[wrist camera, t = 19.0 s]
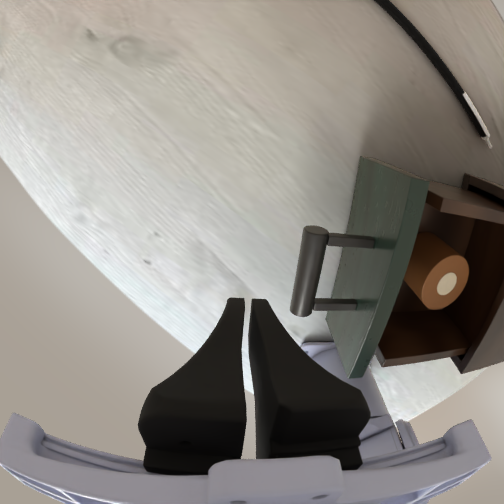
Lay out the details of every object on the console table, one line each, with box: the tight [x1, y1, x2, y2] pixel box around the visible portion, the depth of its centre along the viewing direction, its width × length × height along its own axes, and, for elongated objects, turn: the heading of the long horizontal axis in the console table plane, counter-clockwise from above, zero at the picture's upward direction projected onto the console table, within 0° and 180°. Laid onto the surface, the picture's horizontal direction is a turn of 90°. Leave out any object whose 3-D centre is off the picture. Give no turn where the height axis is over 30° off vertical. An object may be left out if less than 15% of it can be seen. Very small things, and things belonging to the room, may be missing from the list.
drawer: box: [290, 156, 504, 379], centre depth 18 cm, size 17×13×7 cm
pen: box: [374, 0, 492, 149], centre depth 15 cm, size 1×19×1 cm, turn 50°
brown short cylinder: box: [403, 232, 469, 310], centre depth 19 cm, size 4×4×4 cm
